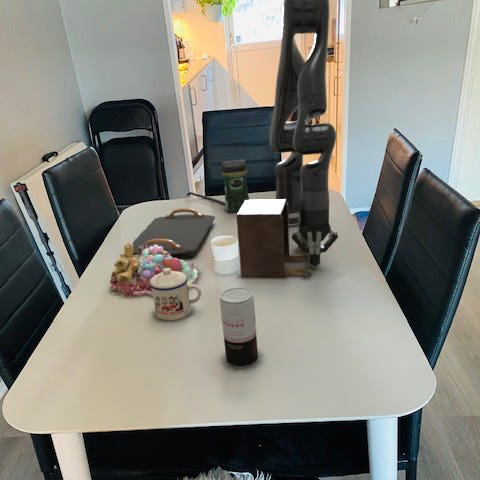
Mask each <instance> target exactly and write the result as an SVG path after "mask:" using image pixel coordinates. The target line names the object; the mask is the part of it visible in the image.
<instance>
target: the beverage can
mask: <svg viewBox="0 0 480 480" xmlns="http://www.w3.org/2000/svg"><path fill="white" fill-rule="evenodd" d="M219 306H220V307H219V308H220V317H221V324H222V333H223V344H224V351H225V360H226V362H227V363H228V365H230V366H232V367H234V368H240V369H241V368H242V369H243V368H248V367H250V366H252V365H254V364H255V363H256V362H257V361H258V359H259V352H258V351H259V350H258V338H257V337H258V336H257V324H256V311H255V310H256V309H255V297H254V294H253V291H252V290H251V289H249V288H246V287H232V288H227V289H225V290H224V291H222V292H221V293H220V295H219Z"/></svg>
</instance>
